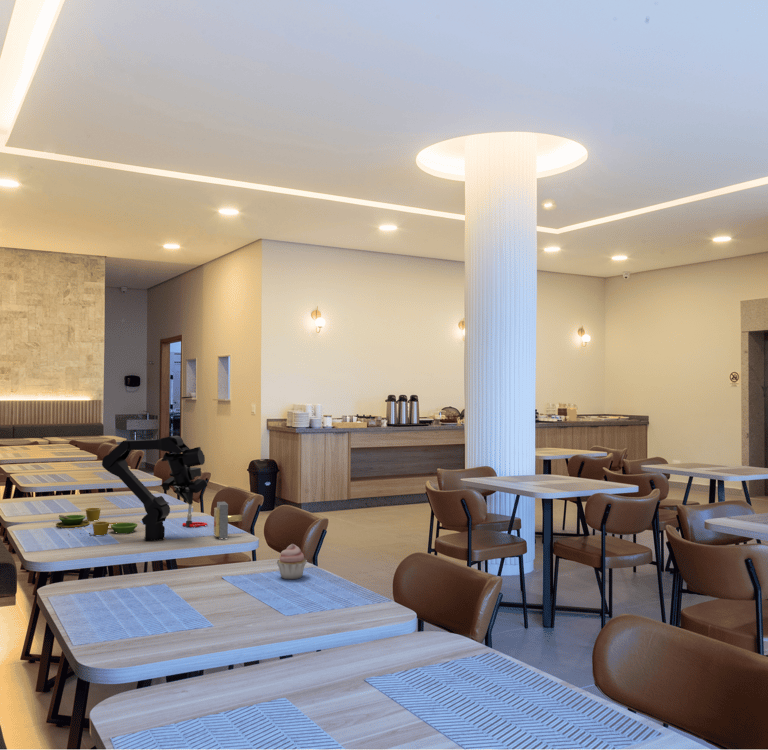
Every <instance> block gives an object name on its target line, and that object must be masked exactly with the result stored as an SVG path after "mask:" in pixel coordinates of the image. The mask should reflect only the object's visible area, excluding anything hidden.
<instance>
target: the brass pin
mask: <svg viewBox="0 0 768 750" xmlns="http://www.w3.org/2000/svg"><path fill="white" fill-rule="evenodd" d="M213 509H214V510H213V535H214V536H215V537H216V538H218V536H219V514H220V510H219V509H218V508H217V507H214V508H213ZM242 521H243V515H242V514H233V515H229V514H228V523H231V522H242Z"/></svg>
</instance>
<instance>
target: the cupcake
mask: <svg viewBox="0 0 768 750" xmlns="http://www.w3.org/2000/svg"><path fill="white" fill-rule="evenodd" d="M307 563H308V560H307V559H305V554H304V553H303V552H302V550H301V548H300V547H299V546H297V545H296V544H294V543H291V544H290V545H288V546H286V549H283V550H282V551H281V552H280V556H279V559H276V564H277V566H278V569H279V574H280V577H281V578H282V579H284V580H297V579H301V578H302V577H303V575H304V572H305V571H304V570H305V566H306V564H307Z"/></svg>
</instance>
